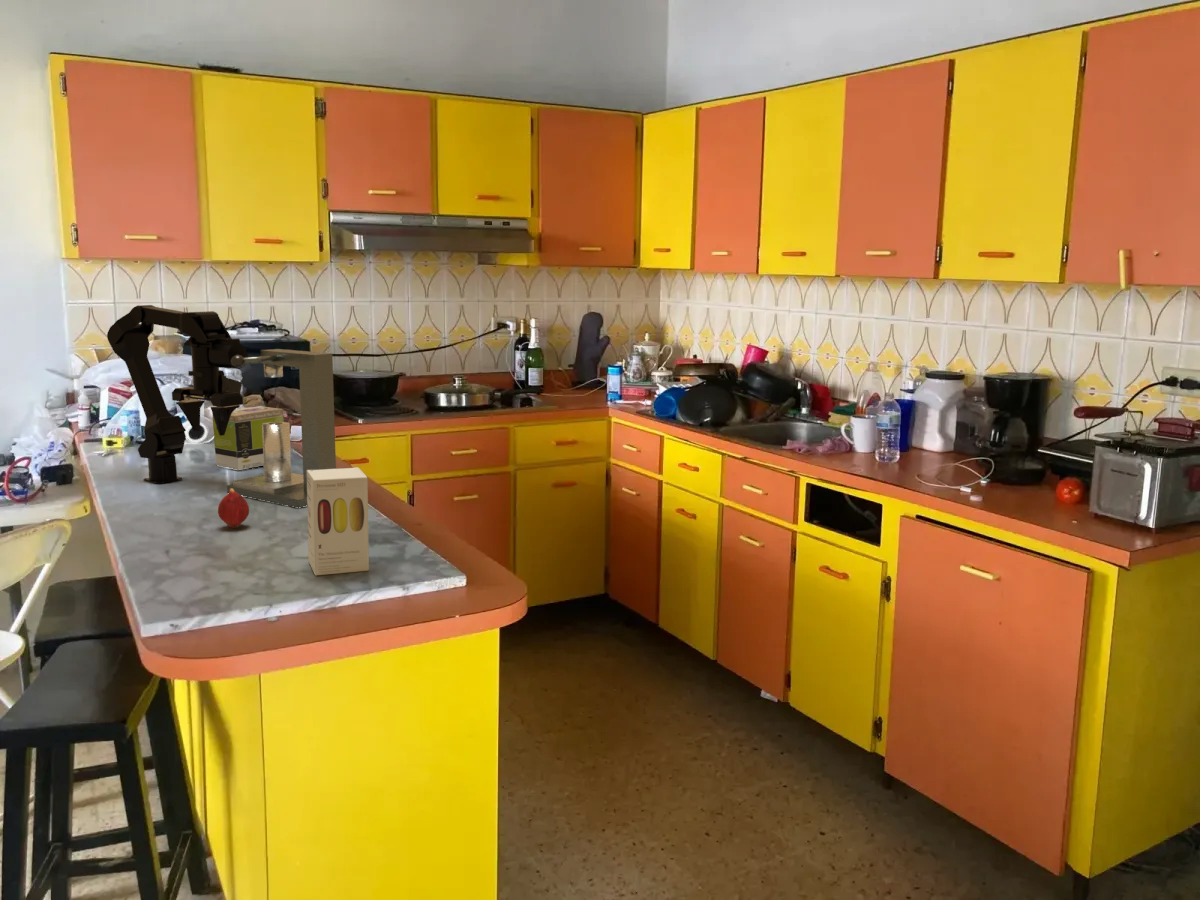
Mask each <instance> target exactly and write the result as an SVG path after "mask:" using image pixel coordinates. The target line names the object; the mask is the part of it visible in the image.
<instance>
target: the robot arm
mask: <svg viewBox="0 0 1200 900" xmlns="http://www.w3.org/2000/svg"><path fill="white" fill-rule="evenodd" d="M154 325H157V326H161V327H167V328H172V329H177V330H179V331H180V332H181V333H182V334H184V335H187V336H189V338H188V339H186V340H185V341H184V343H183V346H184V347H190V352H191V354H190V355H191V366H192V367H191V369H192V370H188V371H187V372H188V376H189V377H192V383H193V384H192V385H193V386H186V387H177V388H173V391H172V392H171V400H172V401H174V402H175V404H176V405H178V407H179V408H180V410H181V411H182V413H183V415H184V416H185V417H186V419H187V421H188V422H189V424H190V426H191V428H192V430H193V432H196V433H197V432H200V428H201V408H202V407H203V405H204V403H205V402H206V401H208V402H210V403H211V405H212V406H211V407H210V410H211V413H213V414H212V418H213V417H214V420H215V423H216V426H217V430H218V432H219V435H220V436H223V435H225V432H226V428H227V425H228V422H229V419H230V416H231V414H232V412H233V411H234V410H235V409H240V407H241V406H242V405H244V404H245V403H244V395H243V394H242V393H241V391H242V387H243V382H242V381H239V380H236V379H233V378H228V377H227V376H226V375H225V372H224V370H220V368H221V369H232V370H233V369H235V370H240V369H243V368H244V367H245V365H246V364H244V365H243V367H241V368H235V367H234V366H232V364H231V359H232V357H233V356H235V355H241V356H242V357H243V358H246V357H249V356H248V352H247V349H246V348H245V346H243V344H241V340H240V338H232V336H231V335H230V333H229V331H228V330H227V328H226V326H225V325H224V323H223V322H222V320H221V318H220V316H219V314H218V312H215V311H190V312H186V311H180V310H175V309H169V308H164V307H159V306H155V305H152V304H145V305H142V304H141V305H136V306H134V307H132V308H131V309H130V311H129V312H128V313H126V314H125V315H124V316H122V317H120V318H118V319H117V320H116V321H115V322H114V323H113V324H112V325H110V327H109V328H108V331H107V333H106V334H107V335H106V337H107V341H108V343H109V345H110V347H111V349H112V351H113V352H114V354H115V355H116V356H118V358H120V359H121V360H122V361H123V362H124V363H125V365H126V367H127V369H128V372H129V375H130V378H131V381H132V383H133V386H134V388H135V391H136V394H137V397H138V400H139V402H140V404H141V406H142V409H143V413H144V414H145V418H146V420H145V422H144V423H145V424H144V429H143V433H144V436H145V438H144V440H142V443H140V445H139V447H138V448H137V451H138V456H139V457H140V458H142V459H143V458H144V459H147V465H148V477H144V478H143V481H145V482H148V483H153V484H157V485H158V484H159V485H160V484H166V483H171V482H176V481H181V480H183V477H182V476H177V475H178V474H177V473H178V472H177V462H176V455H178V454H179V455H181V454H182V453H183V451H184V446H185V442H186V439H187V436H186V431H187V430H186V428H185V427H184V424H183V423H182V417H181V416H180V415H172V413H171V412H169V410H168V408H167V405H166V402H165V399H164V397H163V394H162V392H161V389H160V387H159V384H158V382H157V379H156V376H155V374H154V371H153V369H152V366H151V363H150V361H149V358H148V352H149V348H150V341H149V337H150V335H151V334H152V333H153V332H154V329H155V327H154Z"/></svg>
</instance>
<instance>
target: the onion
mask: <svg viewBox="0 0 1200 900" xmlns="http://www.w3.org/2000/svg"><path fill="white" fill-rule="evenodd" d="M249 513H250V507H249V504H248V502H247V499H246V498H244V497H242V496H241V495H239V494H237V493H236V492H235V491H234V489H230V491H229V494H226V495H225V496H224V497H223V498H222V499H221V501H220V502H219V504H218V507H217V514H218V516H219V518H220V520H221V521H222V522H224V523H225V525H227V526H229V527H231V528H232V529H235V528H237V527H238V526H240V525H241V524H242V523H244V522H245V521H246V519H247V518H248V516H249Z"/></svg>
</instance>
